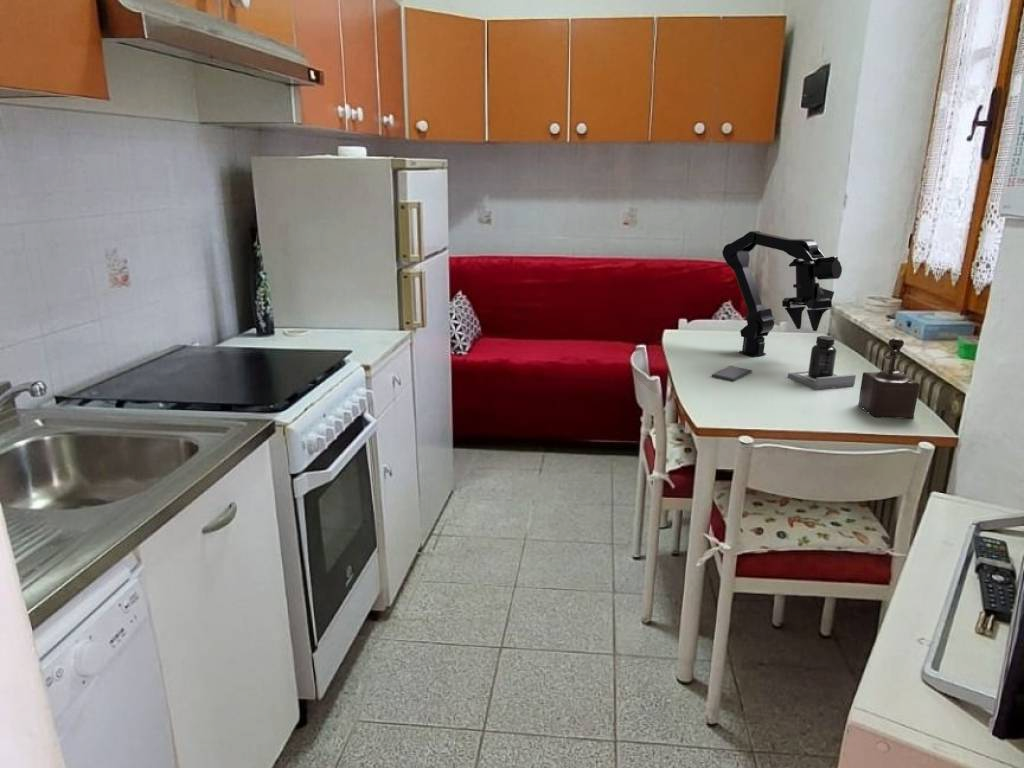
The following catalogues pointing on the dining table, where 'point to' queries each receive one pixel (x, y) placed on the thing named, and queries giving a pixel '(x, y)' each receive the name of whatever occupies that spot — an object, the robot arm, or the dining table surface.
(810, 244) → the robot arm
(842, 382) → the tray
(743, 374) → the phone
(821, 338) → the supplement bottle
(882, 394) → the pepper mill
